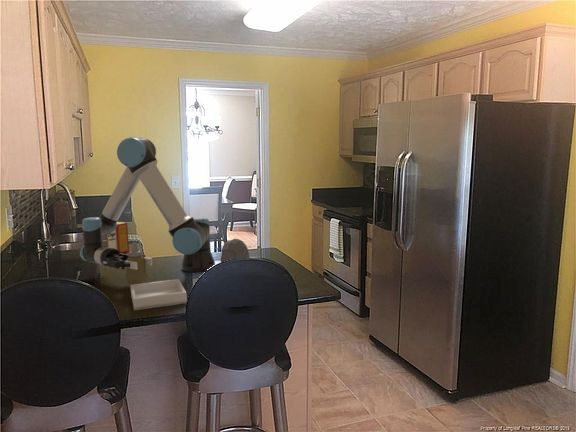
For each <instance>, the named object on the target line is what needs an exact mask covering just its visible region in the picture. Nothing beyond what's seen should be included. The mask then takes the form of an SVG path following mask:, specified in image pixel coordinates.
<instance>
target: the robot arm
mask: <svg viewBox="0 0 576 432" xmlns="http://www.w3.org/2000/svg"><path fill="white" fill-rule="evenodd" d="M156 155H157V148H156V146H155V144H154V143H153V141H151V140H150V139H148V138H146V137H135V136H131V137H127V138H124V139H123V140H121V141H120V142H119V144H118V145H117V150H116V156H117V159H118V161H119V162H120V163H121V164H122V165H124V166H125V169H124V171H123V173H122V175H121V177H120V178H119V181H118V182H117V184H116V185H115V188H114V190H113V191H112V193H111V195H110V197H109V199H108V200H107V203H106V205H105V207H104V208H103V209H102V212H101V214H100V216H98V217H97V216H94V217H93V216H91V217H86V218H83V219H82V221H81V224H82V225H81V228H82V237H83V246H82V247H81V249H80V251H79V256H80V258H81V259H82V260H83V261H84V262H87V263H91V264H97V265H101V266H103V267H109V268H114V269H120V268H121V270H125V269H127V268H130V269H135V270H137V269H138V266H137V262H132V261H127V258H128V257H130V256H129V253H120V252H119V251H118V250H117V249H113V248H108V247H107V246H104V243H103V242H104V240H103V238H104V236H106V234H109V233H111V232H113V231H114V230H115V229H116V227H117V222H119V221H118V220H119V219H120V217H121V215H122V214H123V211H124V209H125V208H126V206H127V204H128V202H129V201H130V198H131V197H132V196H133V193H134V191H135V190H136V188H137V186H138V185H139V183H140V182H141V183H142V185H143V186H144V188H145V190H146V192H147V193H148V194H149V196H150V198H151V200H152V201H153V202H154V204H155V205H156V207H157V209H158V210H159V212H160V214H161V215H162V217H163V218H164V220H165V221H166V223H167V224H168V229H167V232H168V233H169V235H170V236H171V238H172V245H173V248H174V249H175V250H176V251H177V252H178V253H179V254H181V255H183V258H182V261H181V270H182V271H183V272H187V273H203V272H207V271H206V270H207V269H209V268H210V267H212V266H213V265H215V266H216V262H215V259H214V257H213V254H212V250H211V231H210V230H211V228H210V227H211V224H210V220H209V219H208V218H194V217H193V216H191V215H189V214H187V213H186V211H185V210H184V208H183V206H182V205H181V203H180V201H179V200H178V198H177V196H176V195H175V194H174V192H173V190H172V189H171V187H170V186H169V184H168V182H167V181H166V179H165V177H164V176H163V174H162V173H161V171H160V170H159V168H158V166H157V165H158V159H157V156H156ZM141 256H143V257H144V260H145V266H153V258H151V257H147V256H146V255H145V254H142V253H141Z"/></svg>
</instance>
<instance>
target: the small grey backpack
mask: <svg viewBox="0 0 576 432" xmlns="http://www.w3.org/2000/svg"><path fill="white" fill-rule="evenodd" d="M236 258H249V259H250V252H249V248H248V247H247V245H246V244H245V243H244V241H243V240H241V239H239V238H233V239H230V240H227V241H226V242H224V243H223V245H222V248H221V255H220V263H221V262H224V261H227V260H230V259H236Z"/></svg>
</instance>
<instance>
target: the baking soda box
mask: <svg viewBox="0 0 576 432" xmlns="http://www.w3.org/2000/svg"><path fill="white" fill-rule="evenodd" d="M128 230H129V229H128V223H127V222H124V221H117V227H116V229H115V230H114V231H113V232H111V233H109V234H106V235H105V236H106V247H108V248H113V249H117V250H118V251H119V252H120V253H123V254H126V253H129V252H130V246H129V244H130V243H129V231H128Z"/></svg>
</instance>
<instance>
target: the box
mask: <svg viewBox="0 0 576 432" xmlns="http://www.w3.org/2000/svg"><path fill="white" fill-rule="evenodd" d="M130 287H131V288H130ZM130 287H129V288H130V296H131V302H132V306H133V311H140V310H148V309H153V308H154V309H155V308H160V307H169V306H175V305H176V306H177V305H183V304H187V303H188V297H187V295H188V294H187V291H186V289H185V288H184V286H183V283H182V282H181V280H180V279H178V278H177V279H176V278H175V279H167V280H159V281H151V282H146V283H142V284H134V285H130ZM186 302H187V303H186Z"/></svg>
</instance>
